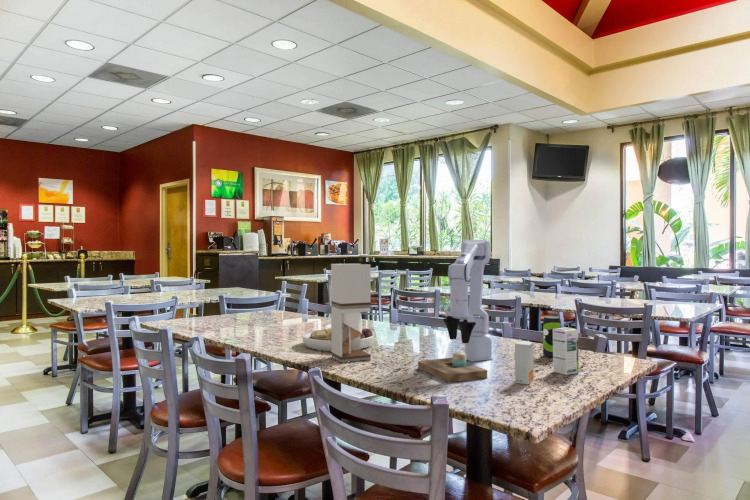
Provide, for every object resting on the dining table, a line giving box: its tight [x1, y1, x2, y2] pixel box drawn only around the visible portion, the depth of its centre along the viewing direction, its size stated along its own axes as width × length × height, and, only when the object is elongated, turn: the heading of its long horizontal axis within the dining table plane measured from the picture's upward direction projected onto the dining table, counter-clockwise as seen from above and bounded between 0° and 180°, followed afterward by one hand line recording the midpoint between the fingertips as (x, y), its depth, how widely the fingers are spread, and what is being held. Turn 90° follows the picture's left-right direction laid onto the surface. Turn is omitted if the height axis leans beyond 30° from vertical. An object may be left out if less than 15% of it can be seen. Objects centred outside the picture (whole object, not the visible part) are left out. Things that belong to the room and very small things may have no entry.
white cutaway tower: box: [330, 263, 372, 363], centre depth 189 cm, size 11×11×35 cm
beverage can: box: [542, 315, 562, 359], centre depth 193 cm, size 6×6×15 cm
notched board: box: [417, 357, 488, 383], centre depth 168 cm, size 14×20×2 cm
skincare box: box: [514, 340, 535, 385], centre depth 157 cm, size 6×4×12 cm
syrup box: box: [552, 327, 580, 376], centre depth 168 cm, size 6×6×14 cm
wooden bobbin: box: [451, 352, 467, 368], centre depth 169 cm, size 5×5×6 cm
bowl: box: [301, 327, 375, 352], centre depth 215 cm, size 30×30×8 cm
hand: (459, 341), depth 169 cm, fingers open, 7 cm apart
